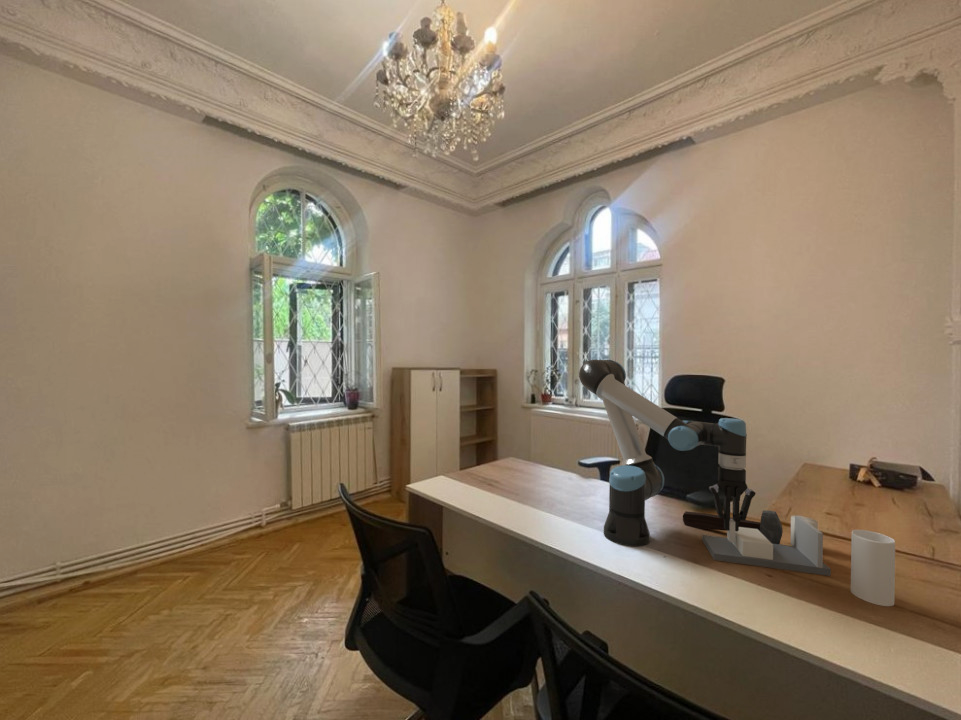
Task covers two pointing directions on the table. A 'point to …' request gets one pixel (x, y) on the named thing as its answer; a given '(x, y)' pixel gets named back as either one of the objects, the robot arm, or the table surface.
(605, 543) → the table surface
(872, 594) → the cup
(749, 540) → the carton
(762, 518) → the hammer
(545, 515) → the table surface
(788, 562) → the grey base with uprights
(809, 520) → the cream white shapes
